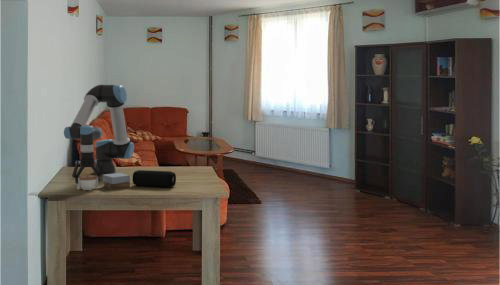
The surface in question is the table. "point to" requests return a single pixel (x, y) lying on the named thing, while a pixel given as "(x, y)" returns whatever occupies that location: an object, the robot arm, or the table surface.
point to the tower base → (117, 185)
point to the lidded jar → (88, 182)
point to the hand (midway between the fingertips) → (87, 187)
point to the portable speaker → (154, 178)
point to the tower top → (116, 178)
